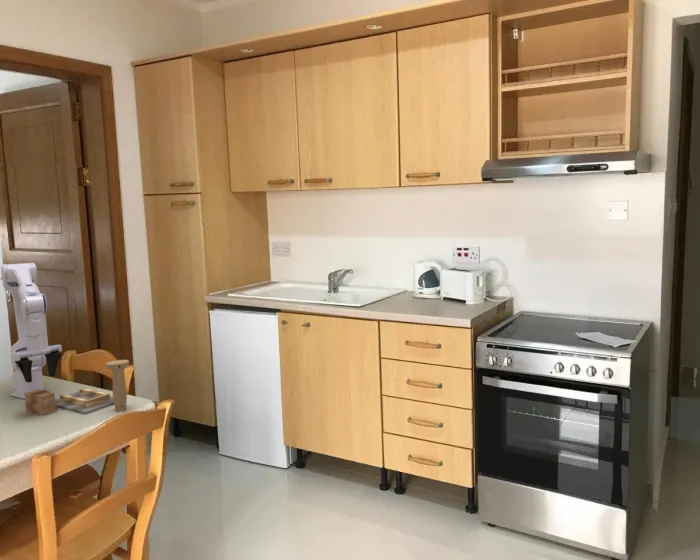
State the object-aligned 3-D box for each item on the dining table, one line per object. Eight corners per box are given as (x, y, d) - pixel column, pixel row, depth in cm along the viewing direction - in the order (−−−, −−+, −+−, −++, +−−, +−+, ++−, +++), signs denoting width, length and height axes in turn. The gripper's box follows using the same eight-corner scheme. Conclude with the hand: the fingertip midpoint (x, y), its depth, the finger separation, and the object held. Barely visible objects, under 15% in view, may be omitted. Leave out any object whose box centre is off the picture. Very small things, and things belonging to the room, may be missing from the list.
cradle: (44, 404, 195) (43, 395, 194) (83, 392, 207) (82, 384, 206) (85, 414, 185) (84, 405, 184) (123, 401, 197) (122, 392, 196)
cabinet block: (26, 411, 188) (24, 392, 188) (40, 407, 192) (38, 388, 192) (43, 416, 184) (42, 397, 183) (57, 411, 188) (56, 392, 187)
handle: (108, 409, 189) (105, 362, 187) (129, 405, 192) (126, 359, 190) (111, 414, 185) (108, 365, 183) (133, 410, 188) (130, 362, 186)
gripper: (21, 340, 177) (25, 386, 179) (66, 331, 190) (70, 374, 191) (7, 338, 181) (11, 383, 182) (52, 330, 193) (56, 372, 195)
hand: (40, 379), depth 187 cm, fingers open, 7 cm apart
